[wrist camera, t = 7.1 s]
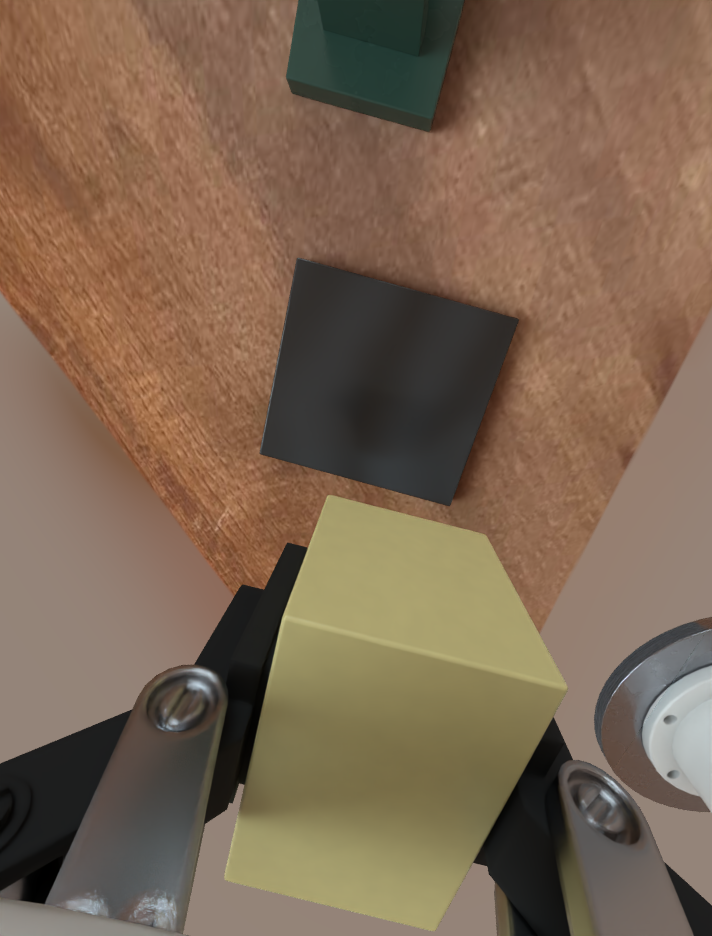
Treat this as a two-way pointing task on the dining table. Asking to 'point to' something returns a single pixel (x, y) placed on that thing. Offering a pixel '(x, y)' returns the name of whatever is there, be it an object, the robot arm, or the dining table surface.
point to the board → (382, 381)
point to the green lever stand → (374, 55)
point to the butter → (390, 718)
